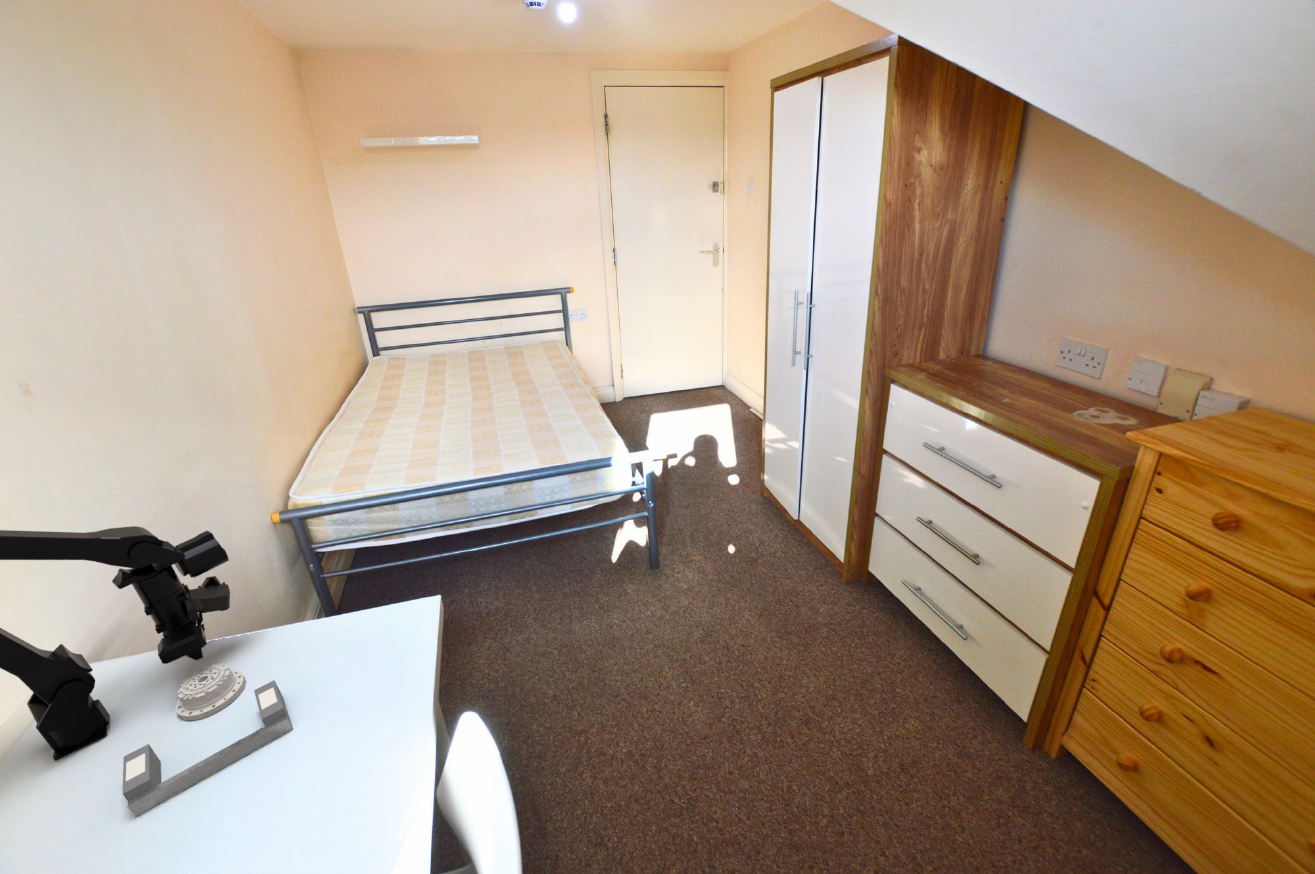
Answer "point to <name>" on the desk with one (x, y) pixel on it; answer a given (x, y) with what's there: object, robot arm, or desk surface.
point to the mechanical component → (208, 691)
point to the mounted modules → (146, 766)
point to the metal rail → (208, 766)
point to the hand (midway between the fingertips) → (199, 658)
